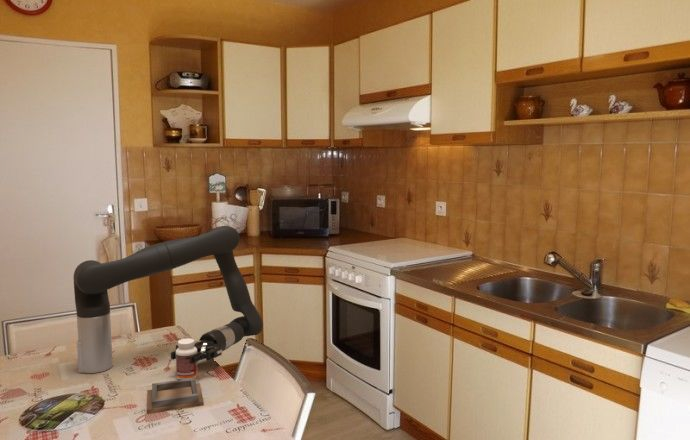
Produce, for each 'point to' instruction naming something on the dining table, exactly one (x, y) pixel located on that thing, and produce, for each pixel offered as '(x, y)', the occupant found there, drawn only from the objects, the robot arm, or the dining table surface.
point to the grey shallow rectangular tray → (174, 395)
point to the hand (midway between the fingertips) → (181, 358)
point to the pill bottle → (186, 360)
